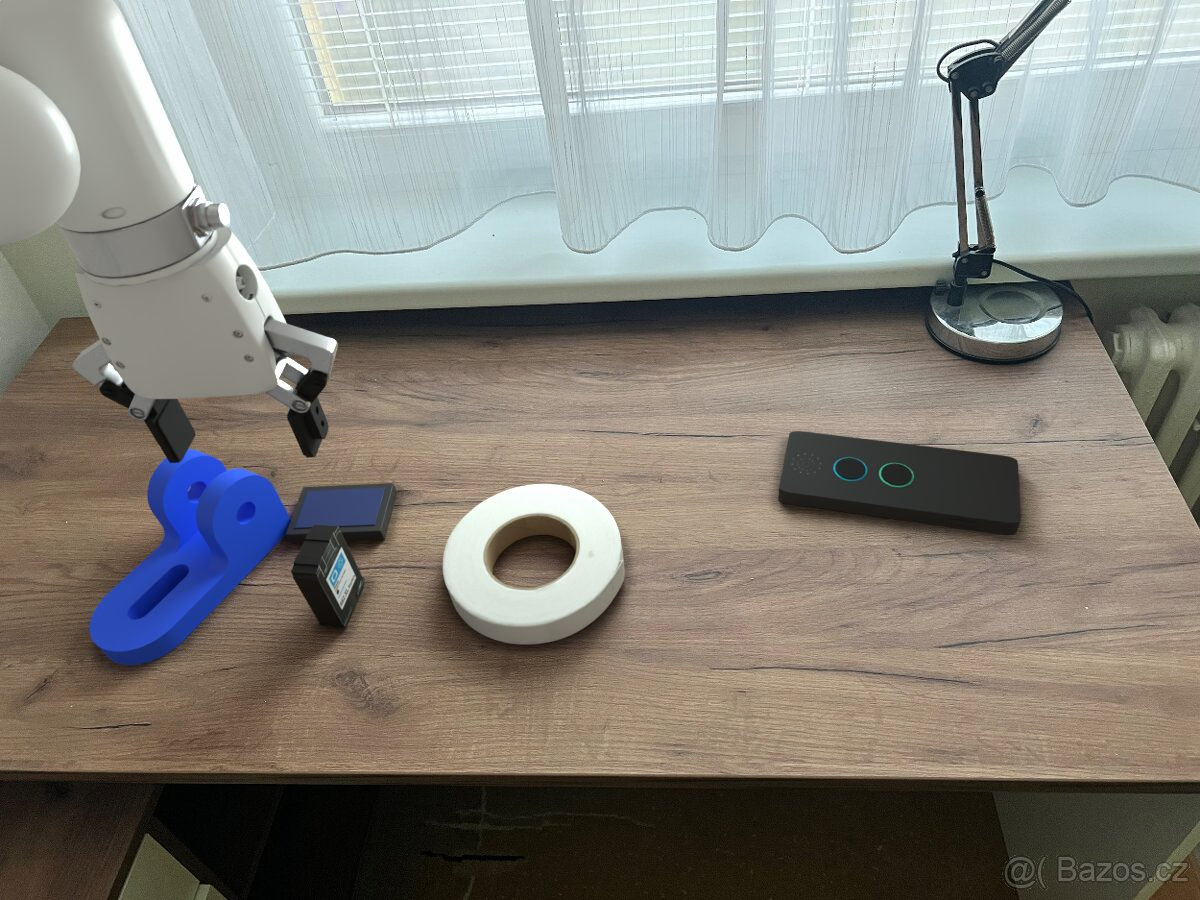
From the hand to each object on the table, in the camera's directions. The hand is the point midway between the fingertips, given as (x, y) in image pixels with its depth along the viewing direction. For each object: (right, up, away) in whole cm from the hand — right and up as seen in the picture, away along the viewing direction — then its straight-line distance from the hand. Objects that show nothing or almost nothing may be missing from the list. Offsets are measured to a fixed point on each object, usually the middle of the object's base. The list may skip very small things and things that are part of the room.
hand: (249, 446), depth 62 cm
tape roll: (+19, -11, +15) cm, 26 cm away
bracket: (-12, -12, +18) cm, 25 cm away
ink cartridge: (+3, -14, +14) cm, 20 cm away
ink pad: (+1, -7, +21) cm, 22 cm away
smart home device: (+51, -4, +17) cm, 54 cm away
